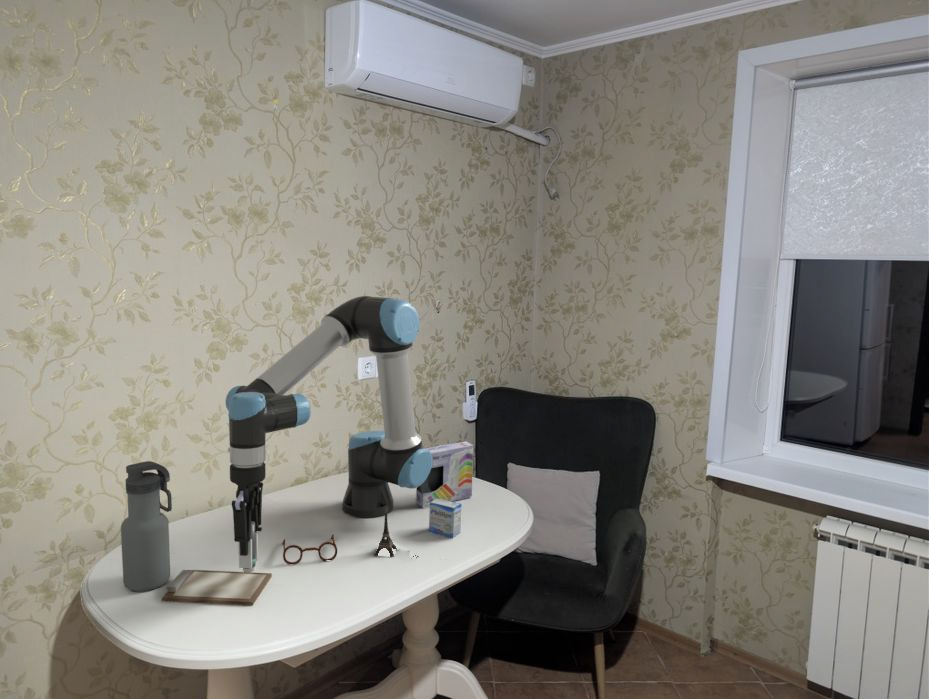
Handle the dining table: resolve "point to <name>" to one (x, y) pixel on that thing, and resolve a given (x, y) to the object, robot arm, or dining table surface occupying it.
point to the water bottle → (146, 528)
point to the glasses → (309, 550)
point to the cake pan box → (447, 474)
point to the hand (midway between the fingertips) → (248, 563)
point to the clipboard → (216, 587)
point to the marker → (252, 536)
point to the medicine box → (445, 518)
